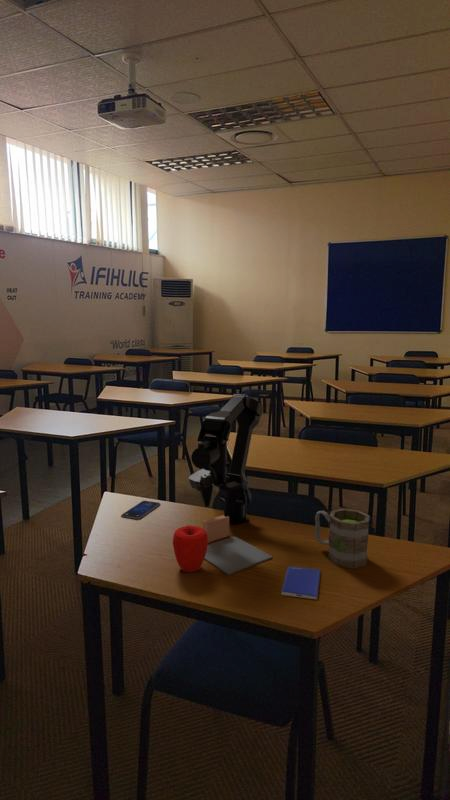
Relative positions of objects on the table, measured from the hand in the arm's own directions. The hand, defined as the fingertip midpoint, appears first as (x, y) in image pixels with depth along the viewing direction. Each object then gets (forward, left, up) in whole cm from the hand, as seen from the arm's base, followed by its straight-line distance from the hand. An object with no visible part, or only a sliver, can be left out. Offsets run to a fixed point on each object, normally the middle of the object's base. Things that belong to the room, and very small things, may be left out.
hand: (216, 511), depth 146 cm
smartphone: (+7, -32, -9) cm, 34 cm away
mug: (-20, +29, -8) cm, 36 cm away
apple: (+16, +11, -8) cm, 21 cm away
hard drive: (-1, +33, -9) cm, 34 cm away
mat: (+3, +11, -8) cm, 14 cm away
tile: (0, 0, -8) cm, 8 cm away
